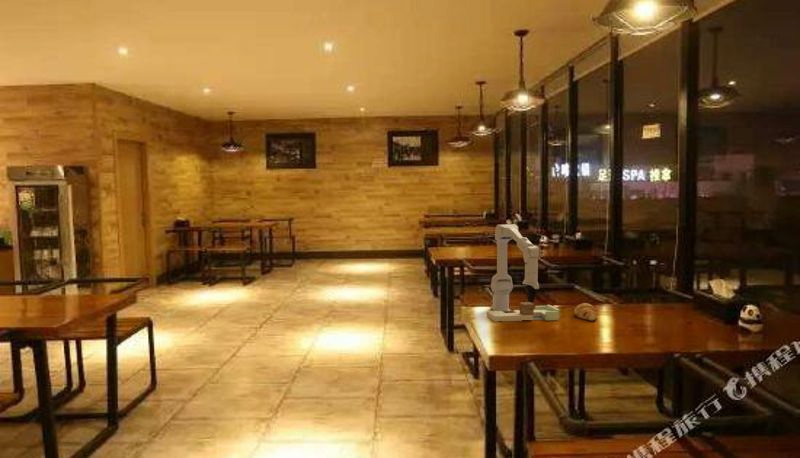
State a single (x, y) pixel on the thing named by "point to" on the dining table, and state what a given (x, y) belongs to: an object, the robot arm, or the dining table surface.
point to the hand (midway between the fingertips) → (530, 302)
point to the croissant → (585, 311)
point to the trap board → (539, 314)
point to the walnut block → (526, 308)
